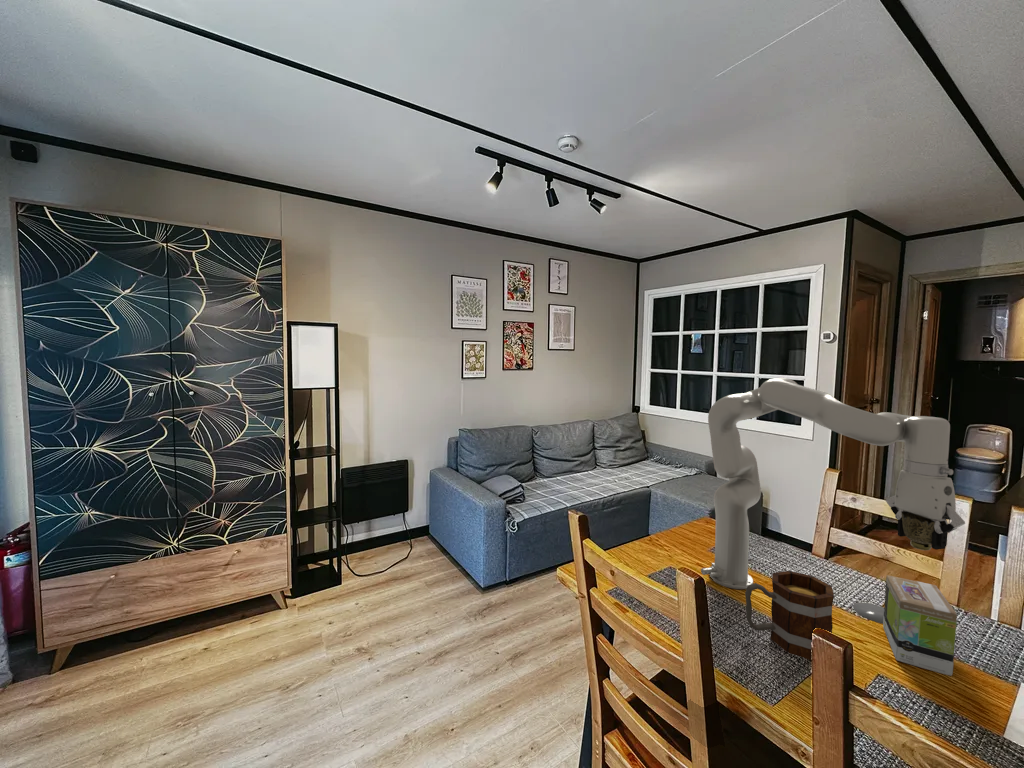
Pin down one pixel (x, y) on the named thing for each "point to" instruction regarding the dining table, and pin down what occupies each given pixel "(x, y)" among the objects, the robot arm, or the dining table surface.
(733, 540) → the robot arm
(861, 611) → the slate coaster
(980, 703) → the dining table surface
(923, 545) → the cup
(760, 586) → the mug
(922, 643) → the tea box
